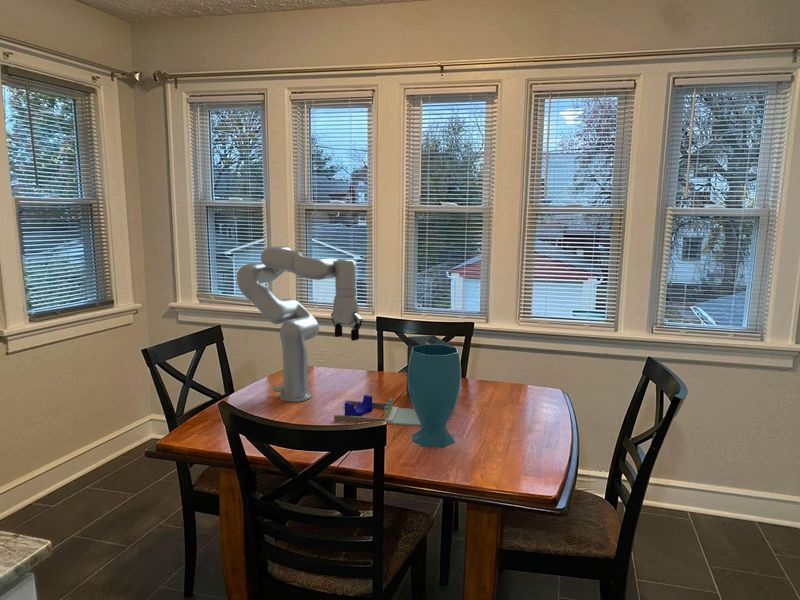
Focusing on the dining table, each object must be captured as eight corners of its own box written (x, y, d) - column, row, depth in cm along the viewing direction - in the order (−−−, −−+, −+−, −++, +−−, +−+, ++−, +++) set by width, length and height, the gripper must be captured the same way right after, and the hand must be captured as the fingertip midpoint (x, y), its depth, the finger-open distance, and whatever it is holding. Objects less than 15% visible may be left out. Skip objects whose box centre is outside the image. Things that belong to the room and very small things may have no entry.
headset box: (455, 408, 210) (457, 342, 206) (425, 411, 206) (427, 344, 202) (432, 390, 231) (433, 330, 227) (405, 393, 227) (406, 331, 223)
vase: (407, 428, 190) (408, 343, 185) (457, 429, 189) (460, 344, 185) (406, 449, 173) (407, 355, 168) (461, 450, 172) (464, 356, 168)
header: (334, 421, 195) (334, 408, 195) (346, 405, 212) (346, 393, 211) (426, 427, 191) (426, 414, 190) (430, 410, 207) (431, 398, 206)
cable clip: (362, 409, 209) (363, 393, 208) (372, 411, 206) (372, 396, 205) (341, 417, 199) (341, 401, 198) (350, 420, 197) (350, 404, 196)
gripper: (323, 291, 208) (324, 336, 210) (352, 295, 195) (353, 343, 198) (339, 289, 213) (340, 333, 215) (368, 293, 201) (369, 340, 203)
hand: (346, 338), depth 207 cm, fingers open, 9 cm apart
